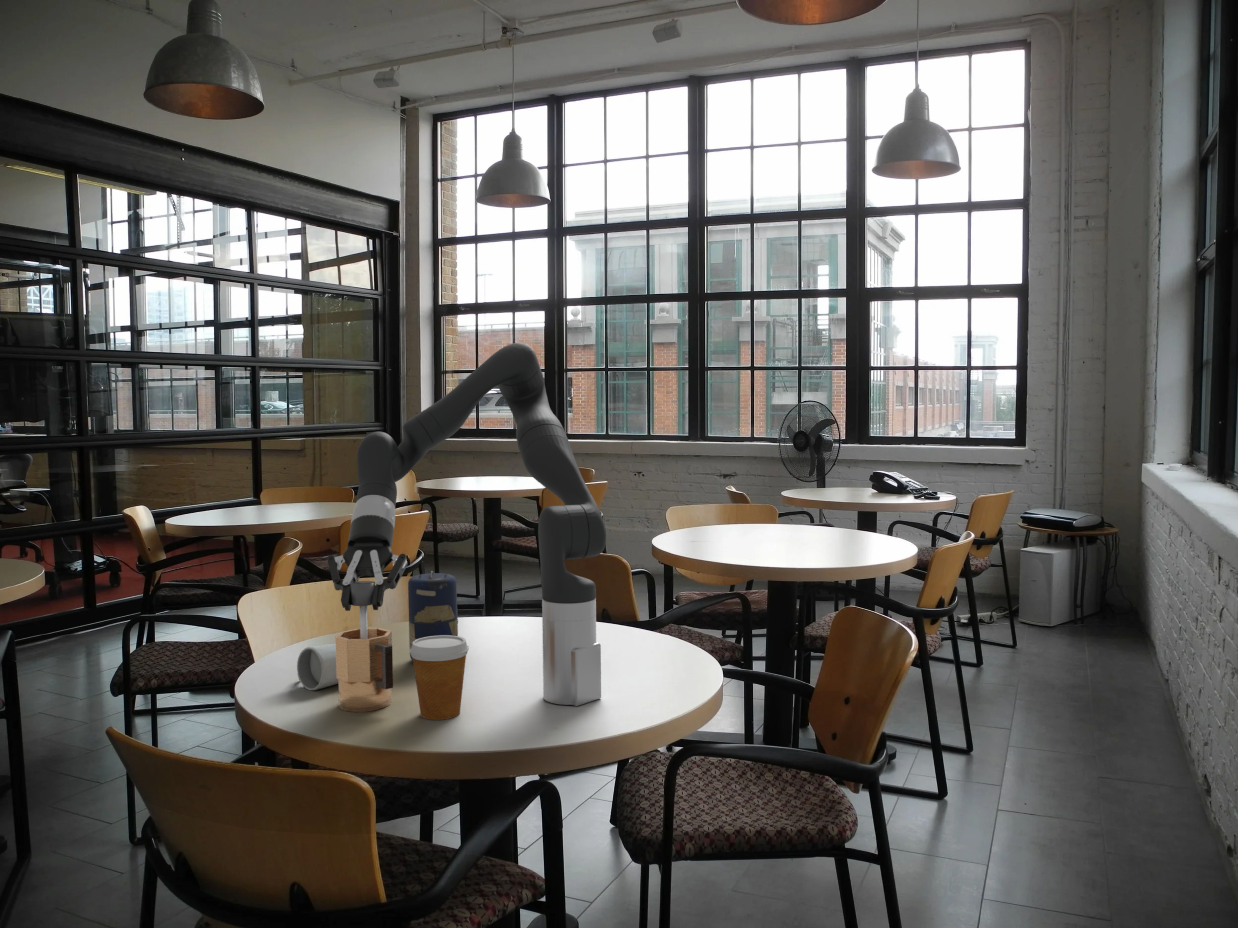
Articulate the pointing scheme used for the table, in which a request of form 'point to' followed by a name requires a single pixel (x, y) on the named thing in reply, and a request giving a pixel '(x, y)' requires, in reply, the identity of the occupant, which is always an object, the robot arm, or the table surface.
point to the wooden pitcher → (364, 669)
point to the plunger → (362, 602)
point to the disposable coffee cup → (439, 674)
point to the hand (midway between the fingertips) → (360, 607)
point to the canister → (432, 606)
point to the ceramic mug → (317, 667)
